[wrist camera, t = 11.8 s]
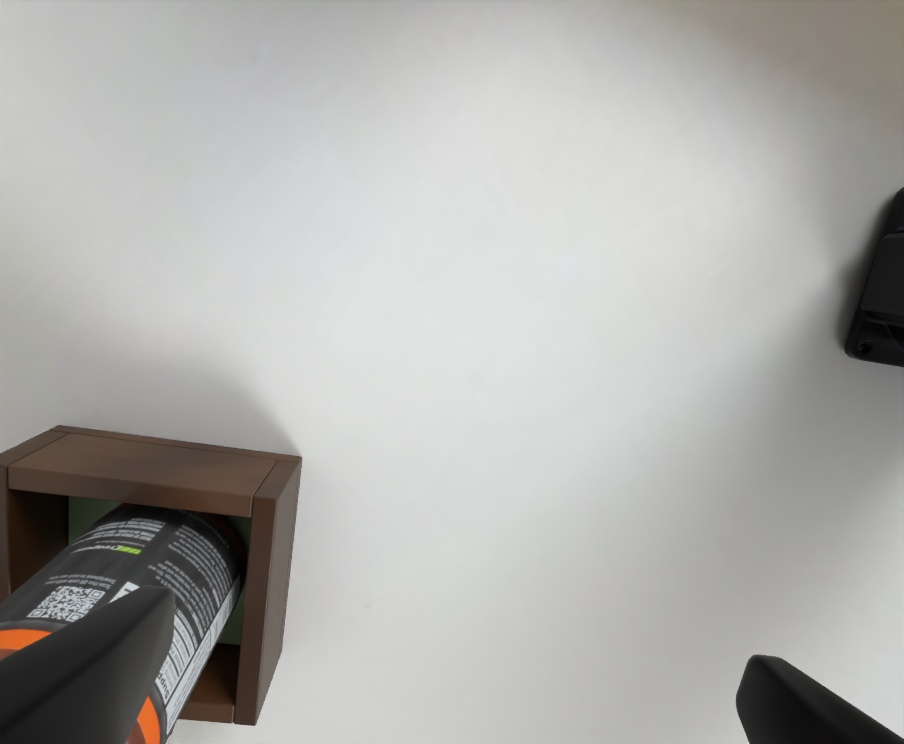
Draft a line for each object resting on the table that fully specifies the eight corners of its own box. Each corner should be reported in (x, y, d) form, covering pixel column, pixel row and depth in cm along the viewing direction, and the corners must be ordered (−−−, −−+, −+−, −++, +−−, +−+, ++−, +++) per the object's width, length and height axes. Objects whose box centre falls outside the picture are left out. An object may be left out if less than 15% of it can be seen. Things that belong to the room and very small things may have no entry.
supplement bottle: (139, 642, 21) (-172, 1075, 10) (64, 517, 20) (-391, 861, 9) (277, 595, 21) (115, 983, 10) (212, 465, 19) (-61, 749, 8)
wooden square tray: (302, 456, 20) (277, 499, 17) (281, 651, 22) (255, 726, 19) (58, 424, 20) (-21, 462, 16) (59, 630, 22) (-11, 704, 18)
